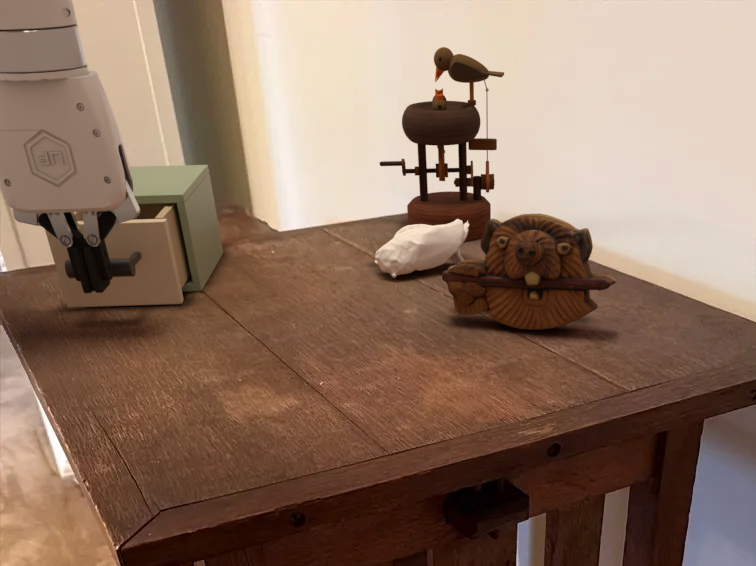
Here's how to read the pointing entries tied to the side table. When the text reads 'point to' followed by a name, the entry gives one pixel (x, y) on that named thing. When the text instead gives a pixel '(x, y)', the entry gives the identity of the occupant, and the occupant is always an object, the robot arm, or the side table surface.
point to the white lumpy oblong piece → (422, 247)
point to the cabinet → (186, 212)
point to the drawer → (133, 261)
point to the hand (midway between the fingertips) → (97, 288)
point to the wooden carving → (528, 274)
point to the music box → (450, 127)
